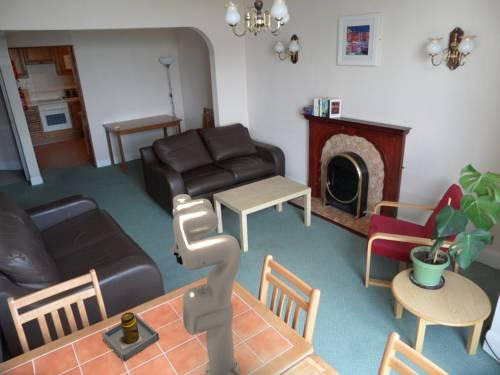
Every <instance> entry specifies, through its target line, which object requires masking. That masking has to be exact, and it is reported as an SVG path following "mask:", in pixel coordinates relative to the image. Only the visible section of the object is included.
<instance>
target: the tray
mask: <svg viewBox="0 0 500 375" xmlns="http://www.w3.org/2000/svg"><path fill="white" fill-rule="evenodd" d="M134 317H135V319H136V321H137V327H138V332H139V335H140V336H141V338H142V340H141V341H139V342H137V343H135V344H133V345H131V346H128V347H126V348H124V349H122V347H121V345H120V344H119V342H118V340H117V338H119V337H122V336H123V331H122V326H121V322H120V323H118V324H116V325H114V326H113V327H111V328H110V329H108V330H106V331H104V332H102V334H101V336H102V340H103V341H104V342H105V343H106V344H107V345H108V346H109V347H110V348H111V349H112V350H113V351H114V353H116V355H117V356H118V357H119V358H120V359H121V360H122V361H123V362H126V361H128V360H129V359H131V358H133V357H134V356H135V355H137V354H139V353H141V352H142V351H143V350H144V349H146V348H147V347H150V346H151V345H153V343H155V342H157V341H158V340H160V337H159V333H158V332H157V331H156V330H155V329H154V328H153V327H152V326H150V325H149V324H148V323H146V321H145V320H144V319H142V317H140V316H139V315H137V314H134Z"/></svg>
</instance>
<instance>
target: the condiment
mask: <svg viewBox="0 0 500 375" xmlns="http://www.w3.org/2000/svg"><path fill="white" fill-rule="evenodd" d="M134 315H135V314H134V313H133V312H129V311H127V312H125V313H123V314H121V317H120V323H121V326H122V331H123V336H122V337H119V338H117V340H118V342H119V344H120V345H121V347H122V349H124V348H126V347H128V346H131V345H133V344H135V343H137V342H139V341H141V340H142V338H141V336H140V335H139V332H138V327H137V321H136V319H135V317H134Z"/></svg>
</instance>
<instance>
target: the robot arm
mask: <svg viewBox="0 0 500 375" xmlns="http://www.w3.org/2000/svg"><path fill="white" fill-rule="evenodd" d="M172 204H173V205H172V206H173V208H172V216H173V222H172V229H173V234H174V244H173V245H172V247H170V248H169V251H170V253H171V255H173V256H175V257H176V262H177V263H178V264H179V265H181V266H182V265H184V267H185V269H187V270H190V271H196V270H200V269H204V268H208V267H212V266H213V268H212V269H211V270H210V271H209V273H208V275H207V279H206V283H204V284H201V285H197V286H195V287H191V288H189V289H187V290H186V291H184V294H183V295H182V296H183V297H182V321H183V326H184V329H185V330H186V332H187V333H188V334H190V335H194V336H195V335H198V334H202V333H205V340H206V349H207V357H208V358H207V360H208V362H206V366H205V374H206V375H242V374H241V372H240V366H239V362H238V360H237V359H236V358H235V351H234V350H235V349H234V338H233V320H234V307H233V303H232V302H231V300H232V295H233V288H234V281H235V280H236V277H237V275H238V273H239V270H240V267H241V259H242V258H241V256H242V255H241V254H242V253H241V247H240V244H239V241H238V240H237V238H236V237H235V236H233V235H230V234H219V235H214V236H210V237H206V238H204V236H206V235H209V234H211V233H213V232H214V231H215V230H216V229H217V228H218V225H219V218H218V215H217V214H216V212H215V211H214V208H213V204H212V203H211V201H210V200H209V199H207V198H198V199H192V197H191V195H189V194H186V193H185V194H184V193H181V194H177V195H175V196H174V197H173V199H172Z"/></svg>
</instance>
